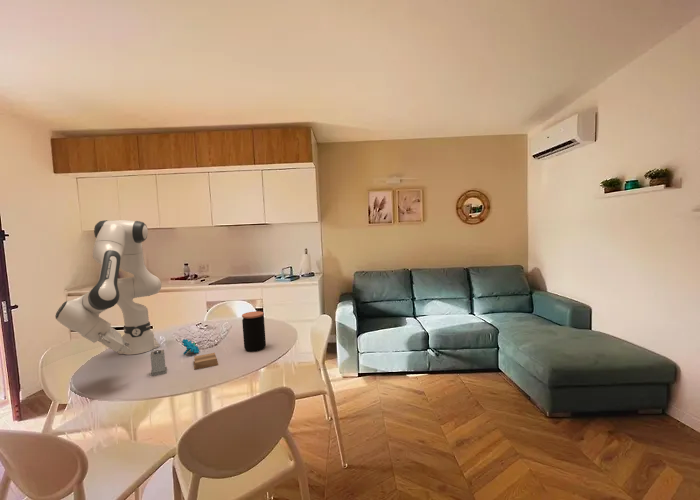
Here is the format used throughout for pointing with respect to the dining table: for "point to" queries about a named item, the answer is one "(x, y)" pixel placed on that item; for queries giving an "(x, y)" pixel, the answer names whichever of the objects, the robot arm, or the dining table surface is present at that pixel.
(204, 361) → the stand
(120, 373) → the dining table surface
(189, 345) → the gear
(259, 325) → the coffee jar
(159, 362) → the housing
